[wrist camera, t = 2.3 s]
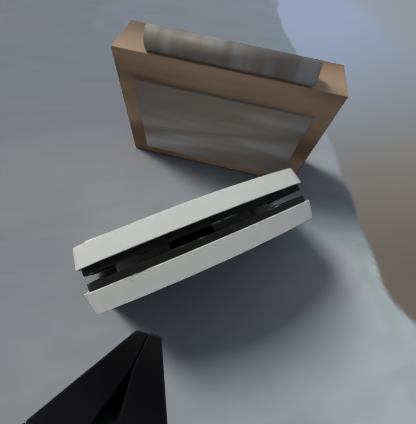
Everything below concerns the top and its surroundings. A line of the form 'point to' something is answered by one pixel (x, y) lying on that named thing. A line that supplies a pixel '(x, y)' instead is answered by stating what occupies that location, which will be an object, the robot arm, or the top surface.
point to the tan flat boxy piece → (224, 98)
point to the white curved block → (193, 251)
